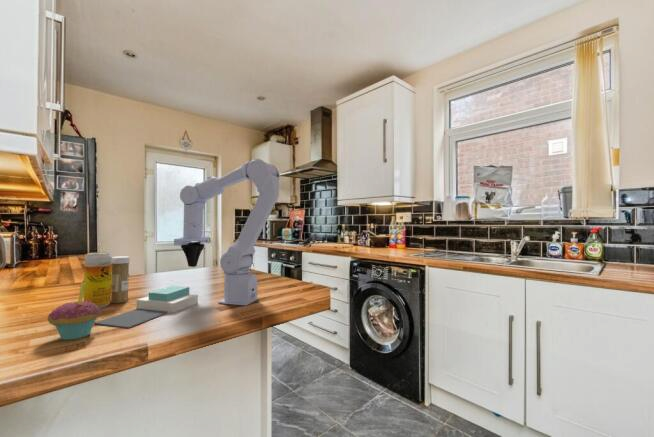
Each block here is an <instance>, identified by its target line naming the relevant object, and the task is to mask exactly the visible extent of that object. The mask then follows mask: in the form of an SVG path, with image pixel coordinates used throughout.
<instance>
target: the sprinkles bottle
mask: <svg viewBox="0 0 654 437" xmlns="http://www.w3.org/2000/svg"><path fill="white" fill-rule="evenodd" d="M130 258H131V257H130V256H126V255H125V256H124V255H120V256H112V269H111V302H110V304H111V303H112V304H121V303H125V302H128V301H129V280H130V279H129V278H130V274H129V265H130V264H129V263H130Z"/></svg>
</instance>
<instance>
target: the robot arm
mask: <svg viewBox="0 0 654 437" xmlns="http://www.w3.org/2000/svg"><path fill="white" fill-rule="evenodd" d="M206 178H207V179H206V180H204V181H202V182H196V183H195V184H194V186H193V185H185V186H184V187H183V188H182V189H181V191H180V193H179V199H180V201H181V202H182V203H183V231H182V233H183V235H182V236H183V237H180V238H179V237H178V238H173V246H177V247H178V246H180V248H181V249H182V251H183V252H184V255H185V258H186V262H187V266H188V267H190V268H195V267H198V266H197V265H198V262H199V259H200V256H201V253H202V251H204V250H203V249H204V248H205V244H208V243H210V241H211V240H210V239H211V238H210V236H203V232H204V209H205V204H206V203H207V201H209V200H210V199H213V198H215V197H217V196H220V195H221V194H223V193H224V192H225V189H226V188H228V187H230V186H233V185H236V184H238V183H240V182H243V181H245V180H248V181H252V183H253V184H254V186H255V187H256V189H257V191H258V197H257V198H256V200H255V203H254V205H253V207H252V209H251V211H250V213H249V215H248V217H247V220H246V221H245V224H244V226H243V227H242V230H241V232H240V234H239V236H238V238H237V239H236V240H235V242H234V243H232V244H231V245H230V246H229V248H228V249H227V251H225V253H223V255H221V258H220V260H219V264H220V268H221V269H222V271H223V275H224V296H223V298H222V299H220V300H218V301H217V303H218V304H224V305H226V304H227V305H235V306H249V305H250V304H252V303H254V302H255V301H257V300H258V299H259V297H258V276H257V274H255V273H251V272H250V268H251V267H252V265H253V264H254V256H255V253H256V249H255V245H256V243H257V241H258V239H259V237H260V235H261V233H262V231H263V229H264V227H265V225H266V223H267V221H268V220H269V217H270V215H271V213H272V211H273V210H274V207H275V205H276V203H277V201H278V199H279V196H280V179H281V175H280V173H279V170H278V168H277V167H276V165H273V164H271V163H269V162H266V161H264V160H262V159H261V158H254V159H251V160H250V161H247V162H244V163H243V165H241V166H240V167H237V168H236V169H234V170H232V171H230V172H228V173H227V174H224V175H223V176H220V177H219V178H218V177H217V176H208V177H206ZM204 243H205V244H204Z"/></svg>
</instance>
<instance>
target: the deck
mask: <svg viewBox="0 0 654 437" xmlns="http://www.w3.org/2000/svg"><path fill="white" fill-rule="evenodd" d="M198 300H199V295H198V294H194V293H189V294H187V295H184V296H181V297H178V298H176V299H173V300H170V301H157V300H149V295H148V296H145V297H141V298H138V299H136V306H135V307H136V309H147V310H156V311H166V312H169V313H173V314H174V313H175V312H179V311H181V310H184V309H186V308H188V307H191V306H194V305H196V304H198V303H199V301H198Z"/></svg>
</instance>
